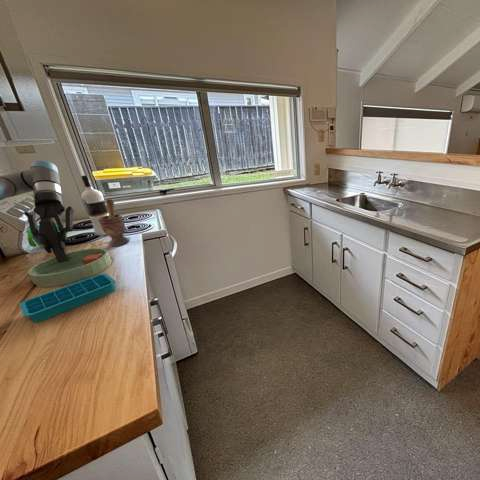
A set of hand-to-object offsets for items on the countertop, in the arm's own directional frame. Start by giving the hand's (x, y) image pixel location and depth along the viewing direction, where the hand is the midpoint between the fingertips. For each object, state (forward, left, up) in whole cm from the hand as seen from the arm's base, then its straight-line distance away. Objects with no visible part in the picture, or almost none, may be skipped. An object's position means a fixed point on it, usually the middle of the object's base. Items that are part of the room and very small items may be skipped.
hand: (55, 250), depth 92 cm
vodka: (+8, +47, -9) cm, 48 cm away
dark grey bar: (0, +4, -6) cm, 7 cm away
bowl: (+3, -2, -9) cm, 10 cm away
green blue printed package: (-12, +40, -10) cm, 43 cm away
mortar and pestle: (+15, +25, -10) cm, 30 cm away
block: (+9, -3, -9) cm, 13 cm away
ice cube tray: (+7, -26, -9) cm, 29 cm away
